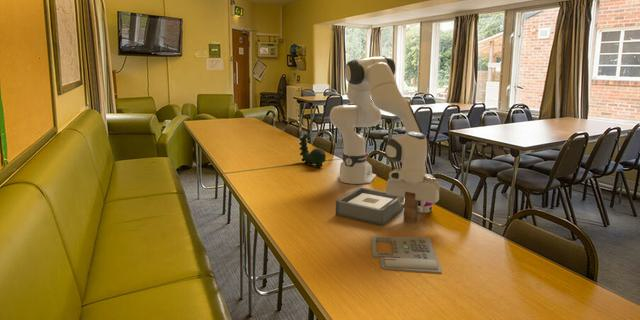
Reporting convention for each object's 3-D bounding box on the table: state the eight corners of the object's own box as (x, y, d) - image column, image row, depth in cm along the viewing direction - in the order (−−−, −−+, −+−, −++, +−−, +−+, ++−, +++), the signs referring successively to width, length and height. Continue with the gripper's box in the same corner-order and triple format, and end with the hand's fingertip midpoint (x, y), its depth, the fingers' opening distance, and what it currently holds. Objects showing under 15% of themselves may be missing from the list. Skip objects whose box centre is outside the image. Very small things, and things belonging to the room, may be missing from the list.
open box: (360, 200, 181) (360, 187, 179) (403, 208, 170) (404, 195, 169) (335, 215, 162) (336, 201, 161) (381, 226, 152) (382, 210, 151)
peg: (407, 218, 160) (408, 189, 157) (416, 220, 158) (418, 190, 155) (403, 221, 157) (405, 191, 154) (413, 223, 155) (415, 193, 152)
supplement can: (432, 208, 172) (435, 173, 168) (431, 214, 164) (433, 179, 161) (413, 205, 174) (415, 172, 171) (410, 212, 167) (413, 177, 163)
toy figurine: (296, 165, 248) (318, 170, 227) (294, 134, 245) (317, 136, 224) (309, 163, 253) (332, 168, 233) (308, 132, 250) (331, 135, 230)
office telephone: (443, 267, 118) (373, 263, 119) (442, 275, 118) (373, 271, 120) (429, 234, 140) (371, 231, 142) (429, 241, 141) (371, 238, 143)
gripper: (443, 177, 150) (440, 212, 154) (391, 169, 161) (389, 202, 164) (438, 181, 145) (435, 217, 149) (385, 172, 156) (383, 206, 159)
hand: (410, 209), depth 156 cm, fingers open, 5 cm apart
